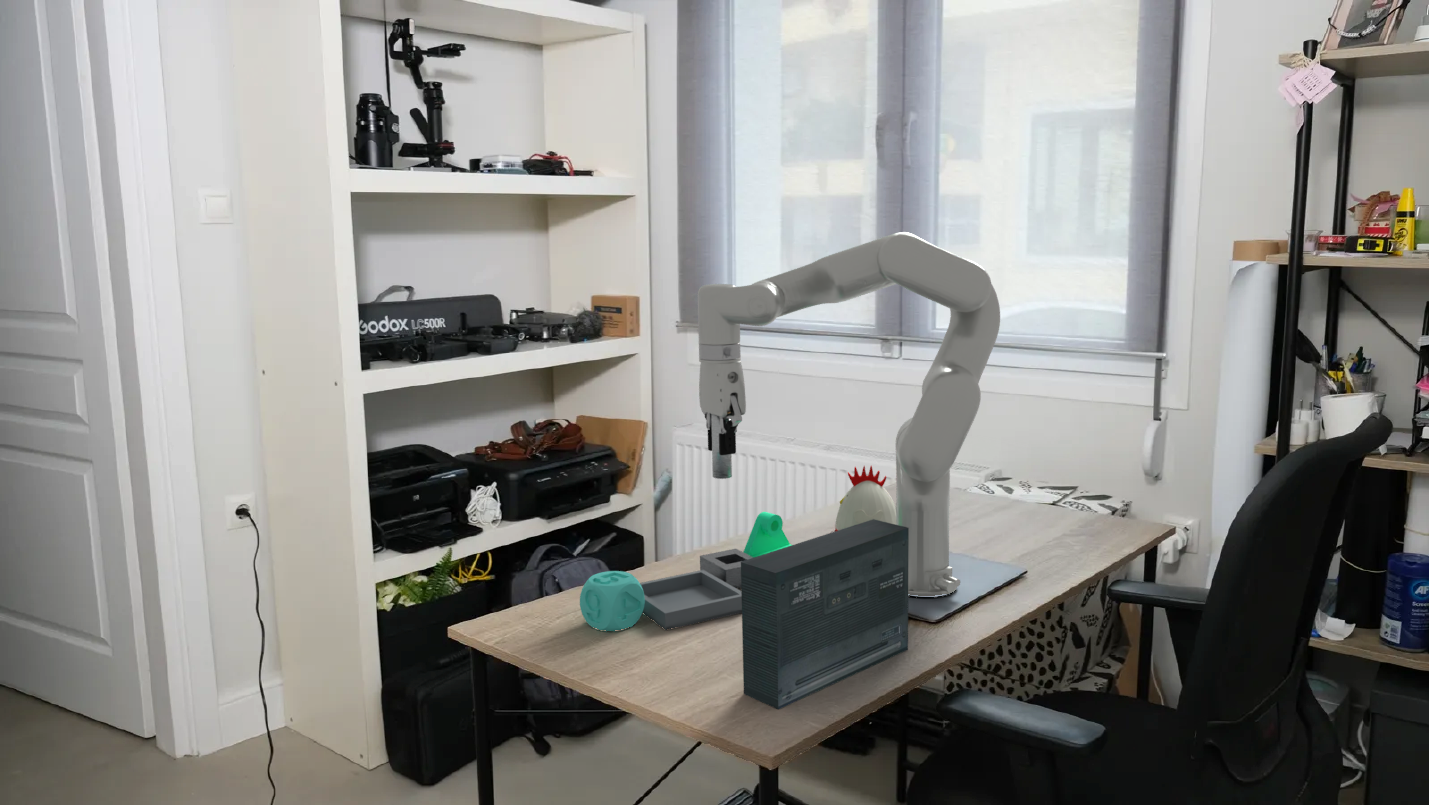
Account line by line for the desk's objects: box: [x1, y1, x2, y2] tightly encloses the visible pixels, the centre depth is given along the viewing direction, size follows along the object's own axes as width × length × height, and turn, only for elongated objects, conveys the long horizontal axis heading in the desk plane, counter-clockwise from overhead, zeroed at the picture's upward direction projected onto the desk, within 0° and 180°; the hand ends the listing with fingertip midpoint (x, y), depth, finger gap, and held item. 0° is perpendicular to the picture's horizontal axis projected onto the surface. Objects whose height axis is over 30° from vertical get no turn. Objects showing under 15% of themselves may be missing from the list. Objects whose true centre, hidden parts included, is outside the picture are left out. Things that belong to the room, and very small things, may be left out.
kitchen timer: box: [834, 465, 896, 532], centre depth 228 cm, size 14×14×15 cm
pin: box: [711, 412, 733, 480], centre depth 197 cm, size 4×4×13 cm
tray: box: [639, 569, 742, 631], centre depth 189 cm, size 16×16×3 cm
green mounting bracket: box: [743, 511, 792, 557], centre depth 210 cm, size 12×8×10 cm, turn 132°
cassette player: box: [740, 519, 909, 710], centre depth 160 cm, size 29×7×20 cm, turn 132°
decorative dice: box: [579, 570, 645, 632], centre depth 182 cm, size 8×8×8 cm
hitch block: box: [699, 548, 754, 589], centre depth 203 cm, size 10×8×4 cm
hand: (721, 451), depth 197 cm, fingers closed on pin, 3 cm apart
